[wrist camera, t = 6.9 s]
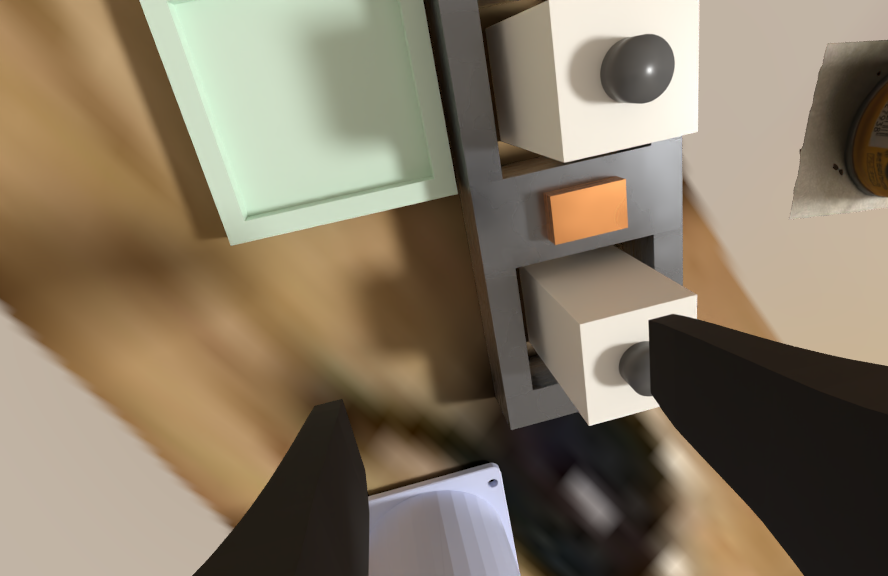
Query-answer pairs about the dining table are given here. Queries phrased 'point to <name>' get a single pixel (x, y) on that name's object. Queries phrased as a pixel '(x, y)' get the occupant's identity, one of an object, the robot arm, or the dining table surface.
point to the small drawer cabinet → (541, 210)
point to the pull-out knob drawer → (599, 326)
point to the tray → (306, 107)
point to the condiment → (846, 134)
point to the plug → (595, 75)
